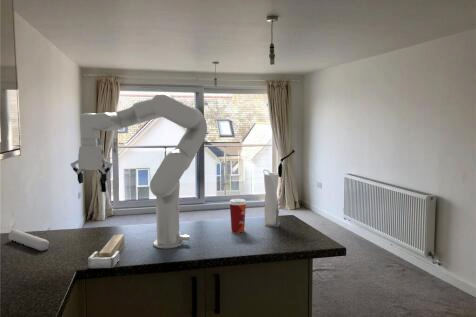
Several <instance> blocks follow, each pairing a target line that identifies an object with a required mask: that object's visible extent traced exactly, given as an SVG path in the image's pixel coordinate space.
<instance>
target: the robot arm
mask: <svg viewBox="0 0 476 317" xmlns="http://www.w3.org/2000/svg"><path fill="white" fill-rule="evenodd" d="M159 118H164V119H166V120H168V121H170V122H171V123H174V124H176V125H177V126H179V127H182V128H184V129H186V130H185V132H184V134H183V135H182V136H181V138H180V140H179V142H178V144H177V146H175V149H174V150H172V151H170V152H168V153H167V154H166V156H164V158H163V159H162V161H161V163H160V164H159V166H158V168H157V170H156V171H155V173H154V175H153V176H152V178H151V180H150V182H149V183H150V184H149V189H150V192H151V193H152V194H153V196H155V197H156V198H155V199H156V200H155V205H156V206H155V207H156V208H155V212H156V216H155V217H156V218H155V219H156V239H155V240H154V241H153V246H154V247H155V248H158V249H165V250H167V249H174V248H178V246H179V247H180V246H182V245H183V244H184V241H190V240H191V235H188V234H182V231H180V188H181V187H180V184H181V183H180V179H181V178H182V176H183V175H184V174H185V172H186V171H187V170H188V169H189V168H190V166H191V164H192V162H193V160H194V159H195V157H196V156H197V153H198V152H199V150H200V148H201V146H203V145H202V144H203V143H204V141H205V139H206V136H207V132H208V123H207V119H206V118H205V116H204V114H203V113H202V111H201V110H200V109H198V108H197V107H193V106H189V105H187V104H185V103H183V102H181V101H179V100H177V99H176V98H175V97H174V96H173V95H171V94H168V93H164V92H160V93H157V94H156V95H154V96H153V97H151V98H147V99H145V100H140V101H138V102H135V103H133V104H132V106H130V107H128V108H126V109H122V110H119V111H116V112H99V113H93V112H85V113H81V114H80V116H79V127H80V146H79V148H78V154H77V155H78V156H77V158H78V159H77V160H75V161H74V162H71V163H70V166H71V169H72V170H73V172H75V174H76V175H77V182H78V185H79V184H80V185H81V184H82V183H84V174H83V171H89V170H90V171H92V170H94V171H98V170H99V171H100V172H101V176H100V177H101V184H106V182H107V181H108V177H107V175H108V174H107V173H109V171H110V170H111V168H112V166H113V162H111V161H109V160H108V159H107V160H106V158H105V151H104V147H103V145H101V144H104V143H105V142H104V140H103V139H101V132H109V131H117V130H121V129H124V128H127V127H131V126H134V125H139V124H143V123H145V122H149V121H153V120H156V119H159ZM76 165H77V166H78V167H77V166H76ZM106 165H107V167H106Z"/></svg>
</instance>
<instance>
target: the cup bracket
mask: <svg viewBox="0 0 476 317" xmlns="http://www.w3.org/2000/svg"><path fill="white" fill-rule="evenodd" d="M120 258H121V257H120V252H119V251H116V253H115V254H114V255H113V256H112V257H105V258H99V251H94V252H93V253H92V254H90V256H88V258H87V266H88V269H111V268H112V269H114V268H115V267H116V266H117V264H118V263H119V262H118V261H120V260H121V259H120ZM117 262H118V263H117Z"/></svg>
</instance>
